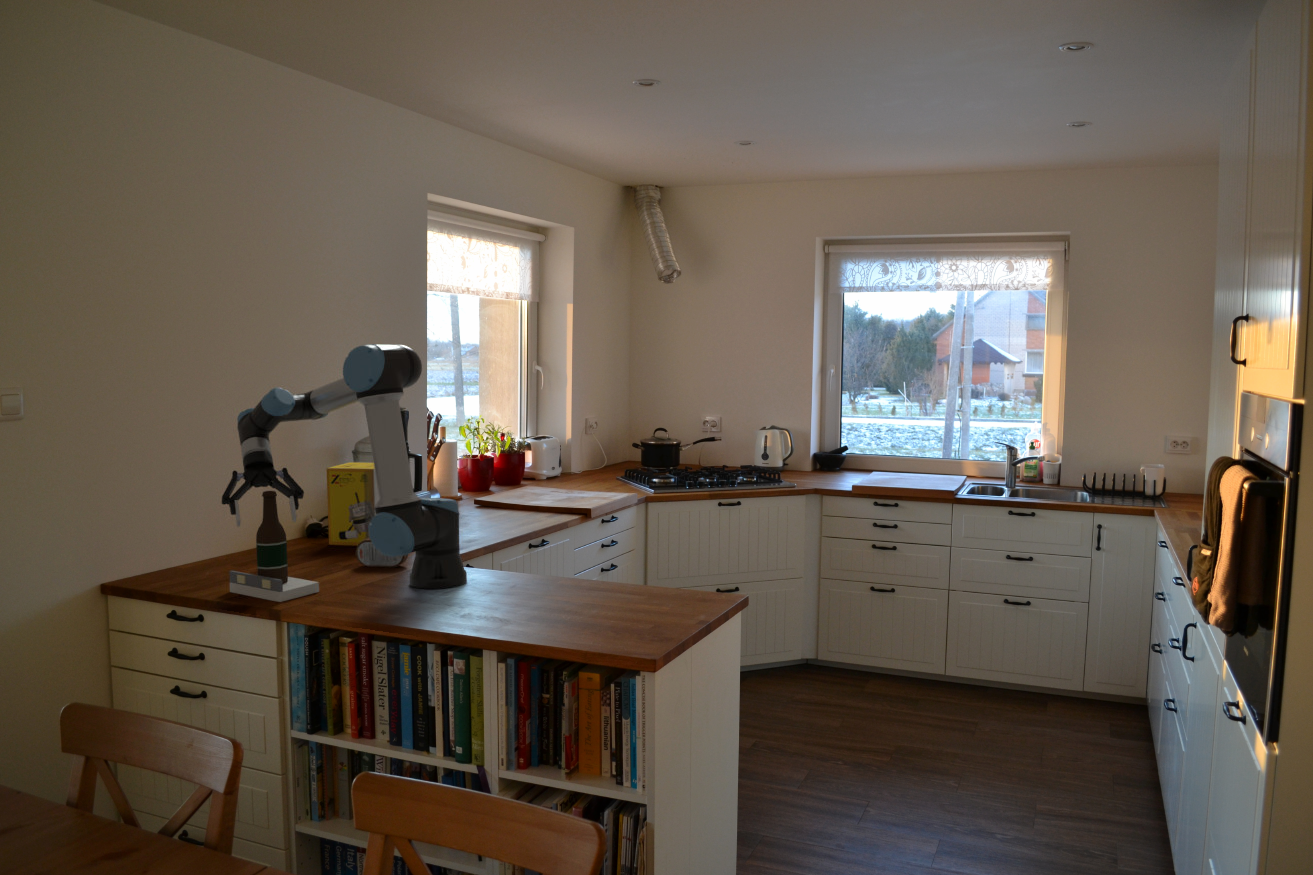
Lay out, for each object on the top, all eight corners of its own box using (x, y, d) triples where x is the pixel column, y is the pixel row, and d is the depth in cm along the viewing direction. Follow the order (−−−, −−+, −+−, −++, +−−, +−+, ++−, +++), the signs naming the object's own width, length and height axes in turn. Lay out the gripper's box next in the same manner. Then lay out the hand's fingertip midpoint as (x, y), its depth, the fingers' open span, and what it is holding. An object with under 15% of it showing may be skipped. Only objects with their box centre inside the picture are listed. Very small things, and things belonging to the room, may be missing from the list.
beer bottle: (252, 586, 247) (248, 493, 245) (263, 579, 255) (259, 489, 253) (283, 586, 247) (279, 493, 245) (293, 578, 255) (289, 489, 253)
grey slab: (319, 591, 252) (318, 570, 251) (279, 602, 241) (278, 580, 241) (269, 582, 262) (268, 562, 261) (229, 591, 252) (228, 571, 251)
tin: (408, 566, 281) (408, 537, 281) (405, 568, 278) (404, 539, 277) (359, 565, 283) (358, 536, 282) (354, 567, 280) (353, 538, 279)
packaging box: (376, 546, 309) (374, 468, 307) (329, 544, 312) (326, 468, 309) (397, 536, 325) (395, 462, 323) (352, 535, 328) (350, 462, 325)
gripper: (304, 463, 271) (315, 525, 260) (206, 469, 259) (214, 534, 248) (306, 446, 266) (318, 508, 254) (207, 451, 254) (215, 516, 242)
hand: (267, 521), depth 251 cm, fingers open, 13 cm apart
